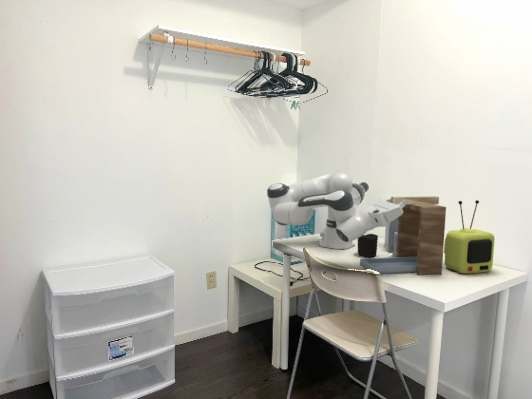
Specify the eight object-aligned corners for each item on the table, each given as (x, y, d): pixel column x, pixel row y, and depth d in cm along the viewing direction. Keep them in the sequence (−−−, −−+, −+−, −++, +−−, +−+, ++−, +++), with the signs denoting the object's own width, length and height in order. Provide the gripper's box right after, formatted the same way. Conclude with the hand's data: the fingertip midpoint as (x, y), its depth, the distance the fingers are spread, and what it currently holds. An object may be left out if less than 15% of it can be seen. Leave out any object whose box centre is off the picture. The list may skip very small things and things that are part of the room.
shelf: (396, 261, 183) (399, 200, 180) (416, 261, 185) (420, 200, 181) (419, 275, 164) (422, 207, 160) (441, 274, 165) (446, 207, 162)
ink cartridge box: (413, 257, 191) (414, 227, 189) (415, 260, 185) (416, 229, 184) (391, 256, 193) (393, 226, 191) (392, 259, 187) (394, 228, 186)
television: (463, 276, 163) (468, 203, 159) (433, 264, 180) (437, 197, 177) (497, 272, 168) (503, 201, 164) (465, 261, 185) (469, 196, 182)
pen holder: (373, 259, 187) (374, 238, 186) (354, 256, 192) (354, 235, 191) (379, 255, 195) (380, 234, 194) (360, 252, 200) (361, 232, 199)
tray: (359, 265, 178) (360, 258, 177) (416, 263, 182) (417, 256, 181) (372, 275, 164) (373, 267, 163) (434, 272, 168) (434, 265, 167)
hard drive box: (403, 253, 199) (405, 213, 197) (387, 252, 200) (389, 212, 198) (398, 245, 214) (400, 208, 212) (384, 245, 216) (385, 208, 213)
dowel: (390, 203, 170) (391, 196, 170) (434, 203, 173) (435, 196, 173) (394, 204, 167) (394, 197, 167) (438, 204, 170) (439, 197, 170)
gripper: (366, 218, 179) (392, 202, 180) (386, 227, 159) (416, 209, 160) (360, 206, 178) (386, 190, 179) (379, 214, 158) (409, 196, 159)
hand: (400, 199), depth 169 cm, fingers open, 8 cm apart
